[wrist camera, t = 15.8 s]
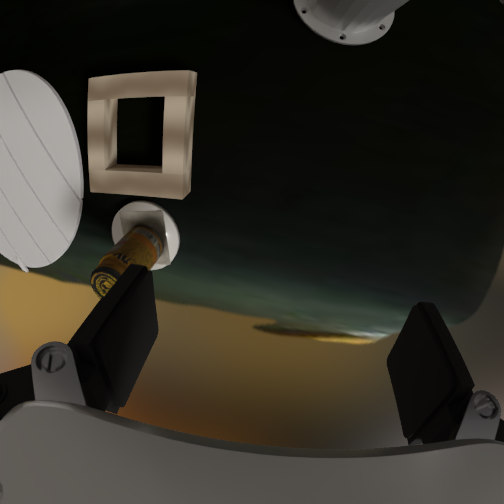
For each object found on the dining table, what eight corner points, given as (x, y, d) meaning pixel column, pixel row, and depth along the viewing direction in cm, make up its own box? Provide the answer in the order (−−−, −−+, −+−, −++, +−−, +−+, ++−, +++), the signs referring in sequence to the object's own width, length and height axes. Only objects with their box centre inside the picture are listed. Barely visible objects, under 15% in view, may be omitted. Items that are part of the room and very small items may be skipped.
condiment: (129, 261, 46) (92, 307, 35) (119, 211, 42) (74, 248, 31) (171, 264, 45) (140, 314, 34) (164, 211, 41) (125, 251, 30)
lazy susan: (27, 292, 55) (18, 301, 52) (-50, 166, 42) (-60, 171, 39) (127, 194, 42) (116, 202, 39) (21, 28, 28) (8, 27, 25)
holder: (102, 78, 33) (88, 78, 30) (197, 72, 33) (188, 70, 30) (103, 184, 41) (90, 191, 38) (190, 191, 40) (182, 199, 37)
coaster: (112, 197, 42) (108, 200, 41) (179, 204, 41) (177, 206, 40) (118, 261, 47) (116, 264, 46) (180, 271, 46) (178, 274, 46)
